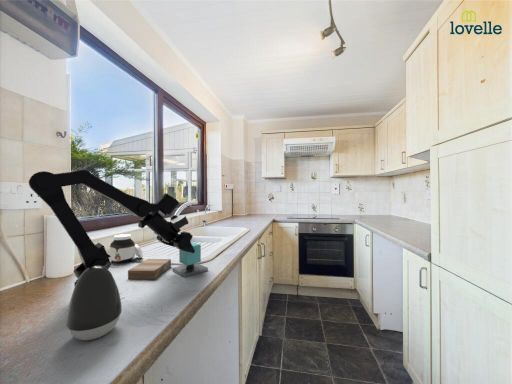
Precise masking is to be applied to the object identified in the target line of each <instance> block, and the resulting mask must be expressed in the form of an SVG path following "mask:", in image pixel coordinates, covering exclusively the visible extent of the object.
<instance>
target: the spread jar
mask: <svg viewBox="0 0 512 384" xmlns="http://www.w3.org/2000/svg"><path fill="white" fill-rule="evenodd" d="M131 238H132V234H130V233H129V234H127V233H125V234H124V233H123V234H118V235H117V234H115V235H114V236H113V241H111V243H110V245H109V255H110V256H111V257H109V260H110V261H112V263H114V264H125V263H129V262H130V261H132V260H133V259H134V258H135V256H136V257H137V256H138V257H139V258H138V257H137V258H138V259H141V258H143V257H144V255H143V251H142V248H141V247H140V246H139V245H138V244H137V243H135V241H134V240H133V239H131Z"/></svg>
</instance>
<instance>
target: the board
mask: <svg viewBox="0 0 512 384" xmlns="http://www.w3.org/2000/svg"><path fill="white" fill-rule="evenodd" d="M171 267H172V259H170V258H167V259H166V258H148V259H145V260H144V261H142V262H140V263H138V264H137V265H135V266H133V267H132V268H129V269H128V270H127V278H128V279H132V280H136V279H137V280H155V279H157V278H158V277H159V276H161V275H162V274H164V273H165V272H166V271H167V270H168V269H169V268H171ZM128 279H127V280H128Z"/></svg>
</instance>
